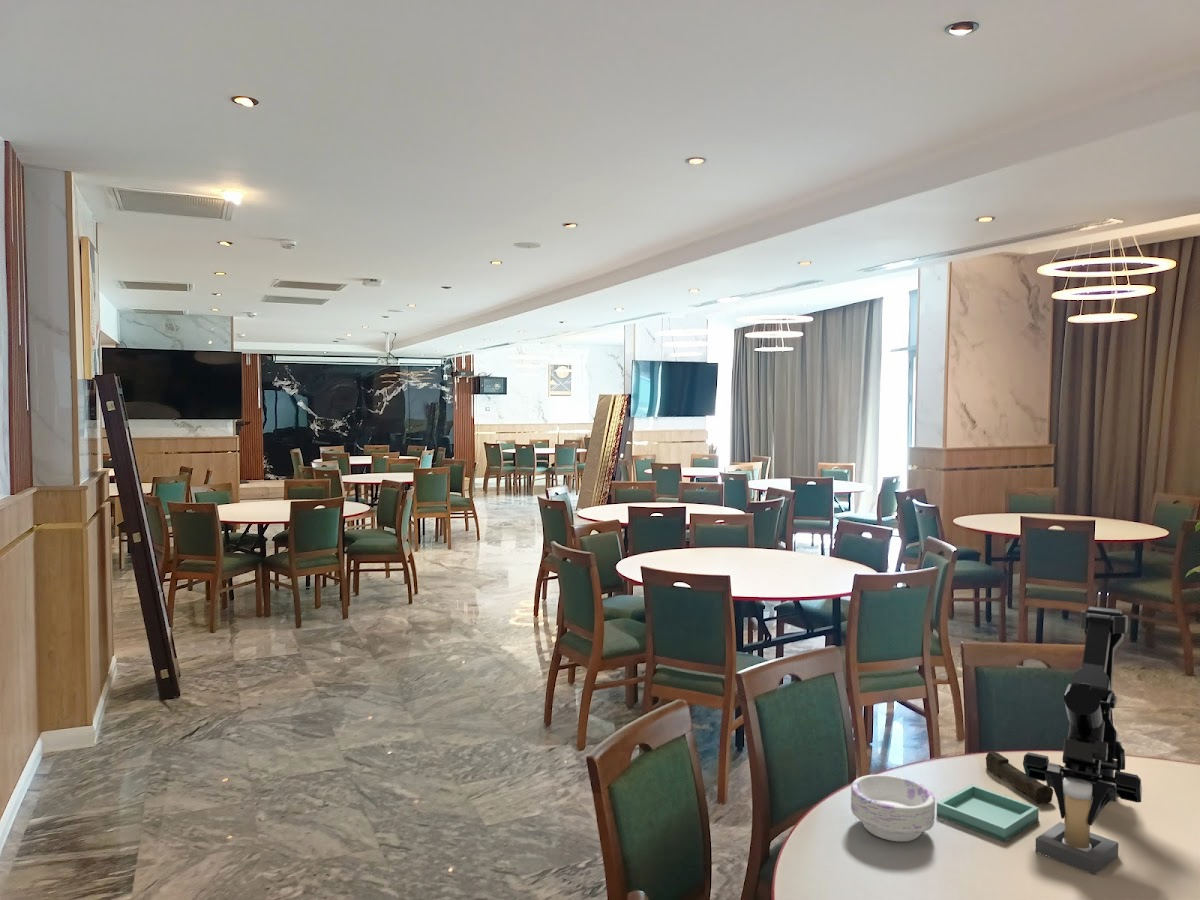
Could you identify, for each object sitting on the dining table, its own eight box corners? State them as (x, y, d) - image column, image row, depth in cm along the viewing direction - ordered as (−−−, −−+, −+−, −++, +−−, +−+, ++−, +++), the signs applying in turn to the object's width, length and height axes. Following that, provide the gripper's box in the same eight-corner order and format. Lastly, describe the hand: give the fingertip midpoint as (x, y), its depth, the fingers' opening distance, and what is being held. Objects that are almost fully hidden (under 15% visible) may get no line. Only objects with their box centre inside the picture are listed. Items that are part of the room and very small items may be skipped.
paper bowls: (950, 833, 159) (950, 792, 159) (904, 859, 150) (905, 815, 150) (880, 804, 172) (881, 766, 171) (834, 826, 162) (834, 786, 162)
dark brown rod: (1054, 805, 172) (1054, 782, 171) (1036, 806, 171) (1037, 783, 171) (997, 767, 190) (998, 747, 190) (981, 768, 190) (982, 748, 190)
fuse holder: (1059, 834, 159) (1060, 821, 159) (1118, 856, 151) (1118, 842, 151) (1035, 851, 152) (1035, 838, 152) (1094, 874, 145) (1095, 860, 145)
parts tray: (971, 796, 175) (971, 784, 175) (1038, 820, 164) (1038, 807, 164) (936, 815, 167) (936, 802, 167) (1004, 841, 156) (1005, 828, 156)
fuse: (1068, 845, 155) (1069, 775, 154) (1095, 854, 151) (1096, 783, 151) (1057, 852, 152) (1058, 782, 152) (1084, 863, 148) (1085, 790, 148)
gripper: (1025, 710, 160) (1012, 787, 151) (1141, 731, 148) (1135, 816, 140) (1032, 738, 166) (1020, 814, 158) (1144, 760, 155) (1138, 843, 147)
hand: (1075, 821), depth 150 cm, fingers closed on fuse, 4 cm apart
